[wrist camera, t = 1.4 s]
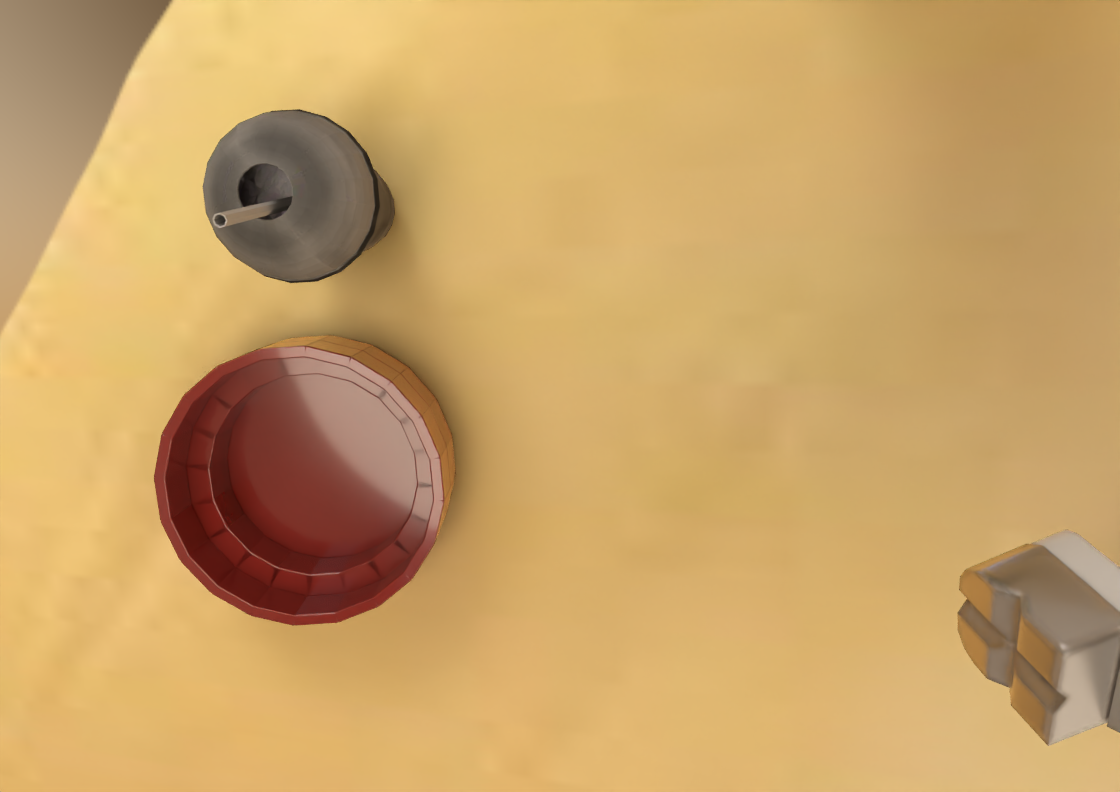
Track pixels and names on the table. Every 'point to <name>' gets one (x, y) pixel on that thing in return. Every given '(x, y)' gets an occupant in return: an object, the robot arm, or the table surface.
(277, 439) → the bowl
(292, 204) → the beverage cup
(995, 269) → the table surface
